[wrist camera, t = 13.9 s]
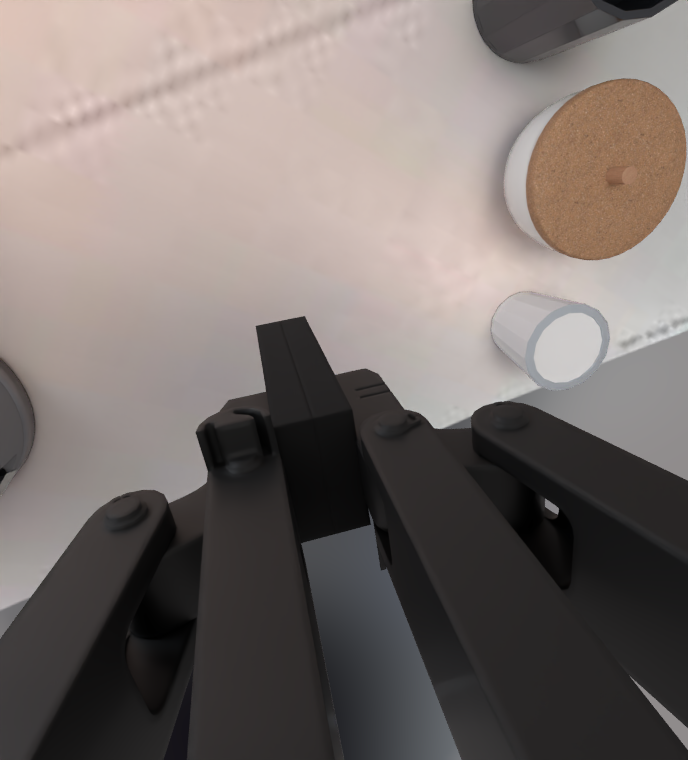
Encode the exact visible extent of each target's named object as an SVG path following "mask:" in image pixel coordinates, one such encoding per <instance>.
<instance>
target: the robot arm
mask: <svg viewBox="0 0 688 760" xmlns="http://www.w3.org/2000/svg"><path fill="white" fill-rule="evenodd" d="M256 330H257V337H258V343H259V349H260V355H261V361H262V367H263V374H264V380H265V386H266V392H263V393H259V394H254V395H250V396H245V397H241V398H236V399H232V400H228V402H227V403H226V404H225V405H224V407H223V408H222V409H221V410H220V412H218V413H216V414H214V415H212V416H210V417H208V418H207V419H206V420H205V421H203V422H202V423H201V424H200V425H199V427H198V429H197V431H196V435H197V438H198V441H199V444H200V448H201V451H202V454H203V457H204V460H205V464H206V467H207V470H208V478H207V483H206V484H205V485H203V486H202V487H200V488H199V489H198V490H196V491H194V492H192V493H191V494H189V495H187V496H185V497H182V498H180V499H178V500H176V501H173V502H171V503H169V504H168V502H167V500H166V498H165V496H164V494H162V493H160V492H158V491H155V490H141V491H136V492H130V493H126V494H123V495H122V496H118V497H116V498H114V499H112V500H111V501H110V502H108V503H107V504H105V505H104V506H102V507H100V508H99V509H98V510H97V511H96V512H95V513H94V514H93V515H92V516H91V517H90V518H89V519H88V520H87V522H86V523H85V524H84V526H83V527H82V529H81V530H80V531H79V533H78V534H77V535H76V537H75V538H74V539H73V541H72V542H71V543H70V545H69V546H68V548H67V549H66V550H65V552H64V553H63V554H62V556H61V557H60V558H59V560H58V561H57V563H56V564H55V565H54V567H53V568H52V569H51V571H50V572H49V573H48V575H47V576H46V577H45V579H44V580H43V582H42V583H41V584H40V586H39V587H38V588H37V590H36V591H35V592H34V594H33V595H32V596H31V598H30V599H29V601H28V602H27V603H26V605H25V606H24V607H23V609H22V610H21V611H20V613H19V614H18V615H17V617H16V618H15V620H14V621H13V622H12V624H11V625H10V626H9V628H8V629H7V631H6V632H5V633H4V635H3V636H2V637H1V639H0V760H163V759H164V756H165V753H166V750H167V747H168V743H169V740H170V737H171V734H172V731H173V728H174V725H175V721H176V718H177V715H178V712H179V709H180V706H181V703H182V700H183V697H184V694H185V690H186V687H187V684H188V681H189V678H190V675H191V672H192V669H193V666H194V671H193V685H192V699H191V713H190V728H189V741H188V755H187V760H344V757H343V752H342V747H341V742H340V737H339V731H338V726H337V721H336V717H335V711H334V706H333V701H332V696H331V690H330V685H329V680H328V675H327V671H326V665H325V660H324V655H323V649H322V644H321V639H320V634H319V629H318V624H317V619H316V614H315V610H314V604H313V598H312V593H311V588H310V583H309V578H308V573H307V568H306V563H305V558H304V554H303V550H302V545H301V543H303V542H307V541H310V540H314V539H318V538H322V537H326V536H329V535H333V534H337V533H341V532H344V531H348V530H352V529H356V528H360V527H363V526H367V525H371V524H370V517H369V511H370V514H371V516H372V519H373V522H374V529H375V535H376V542H377V548H378V555H379V560H380V567H381V570H384V569H386V567H387V570H388V572H389V574H390V577H391V580H392V582H393V585H394V588H395V590H396V593H397V595H398V598H399V600H400V602H401V606H402V608H403V610H404V613H405V616H406V618H407V621H408V623H409V626H410V628H411V631H412V634H413V636H414V639H415V641H416V644H417V646H418V649H419V652H420V654H421V656H422V659H423V662H424V664H425V667H426V669H427V672H428V675H429V677H430V679H431V682H432V685H433V687H434V690H435V693H436V695H437V698H438V700H439V703H440V705H441V708H442V710H443V713H444V716H445V718H446V721H447V723H448V726H449V728H450V731H451V733H452V736H453V739H454V741H455V744H456V746H457V749H458V751H459V754H460V757H461V759H462V760H688V750H687V749H686V747H685V746H684V745H683V743H682V742H681V741H680V740H679V738H678V737H677V736H676V735H675V733H674V732H673V731H672V729H671V728H670V727H669V726H668V724H667V723H666V722H665V721H664V719H663V718H662V717H661V716H660V714H659V713H658V712H657V710H656V709H655V708H654V707H653V705H652V704H651V703H650V702H649V700H648V699H647V698H646V697H645V695H644V694H643V693H642V691H641V690H640V689H639V688H638V686H637V685H636V684H635V683H634V681H633V680H632V679H631V678H630V676H631V677H632V678H633V679H634V680H635V681H636V682H637V683H638V684H639V685H641V686H642V687H643V688H644V689H645V690H646V691H647V692H648V693H649V694H651V695H652V696H653V697H654V698H655V699H656V700H657V701H658V702H660V703H661V704H662V705H663V706H664V707H665V708H666V709H667V710H668V711H670V712H671V713H672V714H673V715H674V716H675V717H676V718H677V719H678V720H680V721H681V722H682V723H683V724H684V725H685V726H686V727H687V728H688V481H687V480H685V479H683V478H681V477H679V476H677V475H675V474H673V473H671V472H669V471H667V470H664V469H662V468H660V467H658V466H656V465H654V464H652V463H650V462H648V461H646V460H644V459H642V458H640V457H637V456H635V455H633V454H631V453H629V452H627V451H625V450H623V449H621V448H619V447H617V446H614V445H612V444H610V443H608V442H606V441H604V440H602V439H600V438H598V437H596V436H593V435H592V434H590V433H588V432H585V431H583V430H581V429H579V428H577V427H575V426H573V425H571V424H569V423H567V422H565V421H563V420H560V419H558V418H556V417H554V416H552V415H550V414H548V413H546V412H543V411H542V410H539V409H538V408H535V407H533V406H529V405H526V404H523V403H515V402H511V401H504V402H496V403H493V404H489V405H485V406H483V407H481V408H479V409H478V410H476V411H475V412H474V414H473V415H472V417H471V428H465V429H435V428H433V427H432V425H431V424H430V423H429V421H428V420H427V419H426V418H425V417H423V416H422V415H421V414H419V413H417V412H413V411H410V410H404V408H403V407H402V406H401V404H400V403H399V402H398V400H397V399H396V397H395V396H394V395H393V393H392V392H390V389H389V388H388V387H387V385H386V384H385V382H384V381H383V380H382V378H381V377H380V376H379V374H377V373H375V372H372V371H370V370H368V369H360V370H356V371H351V372H347V373H342V374H338V375H334V373H333V371H332V369H331V367H330V365H329V363H328V361H327V359H326V357H325V355H324V353H323V351H322V349H321V347H320V345H319V343H318V341H317V340H316V338H315V336H314V334H313V332H312V330H311V328H310V326H309V324H308V322H307V320H306V318H305V316H303V317H298V318H293V319H288V320H283V321H278V322H274V323H269V324H264V325H259V326H256ZM33 439H34V416H33V411H32V407H31V404H30V401H29V399H28V396H27V394H26V392H25V390H24V388H23V387H22V385H21V383H20V382H19V380H18V379H17V377H16V376H15V375H14V373H13V372H12V371H11V370H10V369H9V368H8V367H7V365H6V364H5V363H4V362H3V361H2V360H0V496H2V495H3V493H4V492H5V490H6V488H7V486H8V485H9V483H10V481H11V480H12V478H13V477H14V476H15V474H16V473H17V472H18V471H19V469H20V468H21V466H22V465H23V464H24V462H25V460H26V459H27V457H28V455H29V452H30V450H31V447H32V443H33ZM545 499H547V500H549V501H550V502H551V503H553V504H555V505H556V506H557V507H558V508H559V513H558V515H557V514H555V513H553V512H552V511H550V510H549V509H547V508H546V507H545ZM368 509H369V511H368Z"/></svg>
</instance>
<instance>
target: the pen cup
mask: <svg viewBox="0 0 688 760" xmlns="http://www.w3.org/2000/svg"><path fill="white" fill-rule="evenodd" d="M676 1H678V0H473V10H474V15H475V20H476V23H477V27H478V29H479V32H480V34H481V36H482V38H483V39H484V41H485V42H486V44H487V45H488V46H489V48H490V49H491V50H492V51H493V52H494V53H496V54H497V55H498V56H500V57H502V58H504V59H506V60H508V61H511V62H516V63H528V62H533V61H536V60H542V59H545V58H547V57H550V56H553V55H555V54H558V53H560V52H563V51H565V50H568V49H571V48H573V47H576V46H578V45H581V44H583V43H586V42H588V41H591V40H594V39H596V38H599V37H601V36H604V35H606V34H609V33H612V32H614V31H617V30H619V29H622V28H624V27H627V26H629V25H632V24H635V23H637V22H640V21H642V20H645V19H647V18H650V17H652V16H654V15H655V14H657V13H659V12H660V11H662V10H663V9H665V8H667V7H668V6H670V5H671V4H673V3H675V2H676Z"/></svg>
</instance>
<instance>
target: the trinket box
mask: <svg viewBox="0 0 688 760" xmlns="http://www.w3.org/2000/svg"><path fill="white" fill-rule="evenodd" d="M685 161H686V138H685V130H684V127H683V124H682V121H681V118H680V115H679V113H678V111H677V109H676V107H675V106H674V104H673V103H672V102H671V100H670V99H669V98H668V96H667V95H665V94H664V93H663V92H662V91H661V90H660V89H659V88H657V87H655V86H653V85H651V84H649V83H647V82H644V81H640V80H637V79H617V80H610V81H606V82H603V83H600V84H597V85H594V86H591V87H589V88H587V89H585V90H582V91H579V92H576V93H573V94H570V95H568V96H566V97H564V98H563V99H561V100H559V101H557V102H555V103H553V104H551V105H550V106H549V107H547V108H546V109H545V110H543V111H542V112H541V113H539V114H538V115H537V116H536V117H534V118H533V119H532V120H531V121H530V122H529V123H528V125H527V126H526V127H525V128H524V130H523V131H522V132H521V134H520V135H519V136H518V138H517V140H516V141H515V143H514V145H513V147H512V149H511V151H510V154H509V156H508V159H507V163H506V167H505V172H504V196H505V201H506V204H507V208H508V210H509V212H510V214H511V216H512V218H513V220H514V222H515V223H516V224H517V226H518V227H519V228H520V229H521V230H522V231H523V232H524V233H525V234H526V235H527V236H528V237H529V238H531V239H532V240H534V241H535V242H537V243H539V244H541V245H542V246H544V247H547V248H549V249H552V250H555V251H558V252H560V253H562V254H565V255H567V256H570V257H573V258H578V259H583V260H600V259H606V258H610V257H613V256H616V255H619V254H621V253H623V252H625V251H627V250H629V249H631V248H632V247H634V246H635V245H637V244H638V243H639V242H641V241H642V240H643V239H644V238H645V237H647V236H648V235H649V234H650V233H651V232H652V231H653V230H654V229H655V228H656V226H657V225H658V224H659V223H660V222H661V220H662V219H663V218H664V216H665V215H666V213H667V212H668V210H669V209H670V207H671V205H672V203H673V201H674V199H675V197H676V195H677V192H678V190H679V187H680V185H681V181H682V177H683V173H684V168H685Z"/></svg>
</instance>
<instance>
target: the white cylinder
mask: <svg viewBox="0 0 688 760" xmlns="http://www.w3.org/2000/svg"><path fill="white" fill-rule="evenodd" d="M491 333H492V337H493V340H494V342H495V344H496V345H497V346H498V347H499V348H500V349H501V350H502V351H503V352H504V353H505V354H506V355H507V356H508V357H509V358H510V359H511V360H512V361H513V362H514V363H515V364H516V365H517V366H518V367H520V368H521V369H522V370H523V371H524V372H525V373H526V374H527V375H528V376H529V377H530V378H531V379H532V380H533V381H534V382H535V383H536V384H537V385H539V386H541V387H544V388H547V389H549V390H567V389H570V388H572V387H574V386H576V385H578V384H581V383H583V382H584V381H585V380H587V379H588V378H589V377H590V376H591V375H592V374H593V373H594V372H595V371H597V369H598V367H599V366H600V364H601V363H602V361H603V359H604V358H605V356H606V353H607V349H608V345H609V340H610V335H609V329H608V323H607V321H606V320H605V318H604V317H603V316H602V314H601V313H600V311H599V310H597V309H595V308H593V307H590V306H588V305H586V304H583V303H579V302H574V301H570V300H565V299H561V298H557V297H552V296H548V295H543V294H539V293H535V292H519V293H517V294H515V295H513V296H510V297H508V298H507V299H506V300H505V301H504V302H503V303H502V304H501V305H500V306H499V307H498V309H497V311H496V313H495V315H494V317H493V318H492V326H491Z"/></svg>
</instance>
